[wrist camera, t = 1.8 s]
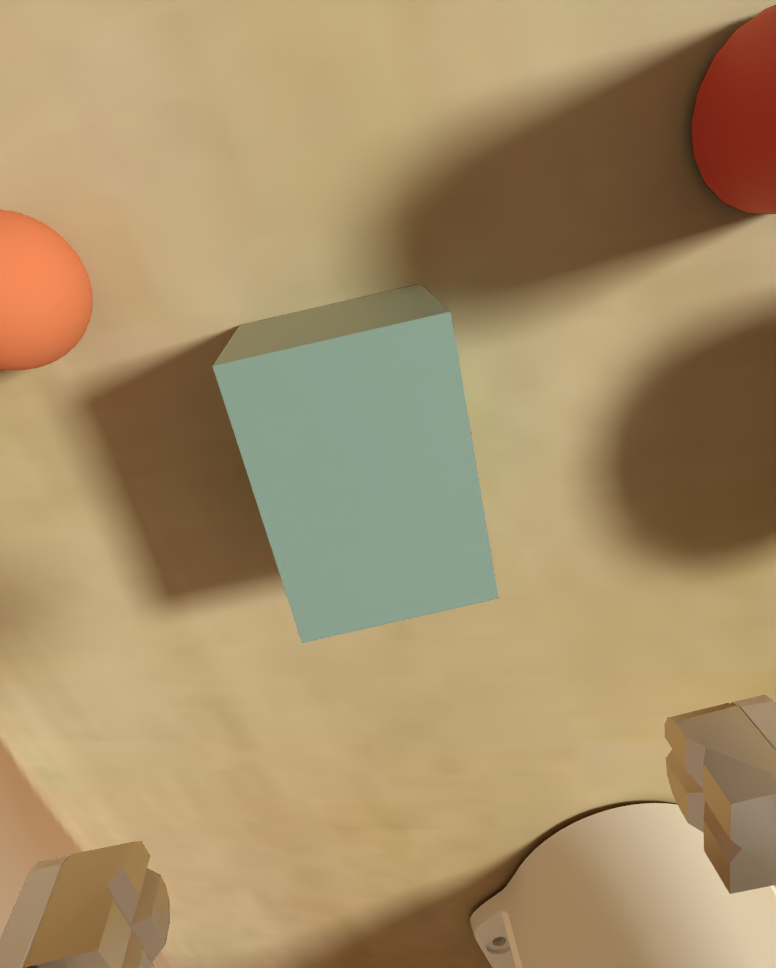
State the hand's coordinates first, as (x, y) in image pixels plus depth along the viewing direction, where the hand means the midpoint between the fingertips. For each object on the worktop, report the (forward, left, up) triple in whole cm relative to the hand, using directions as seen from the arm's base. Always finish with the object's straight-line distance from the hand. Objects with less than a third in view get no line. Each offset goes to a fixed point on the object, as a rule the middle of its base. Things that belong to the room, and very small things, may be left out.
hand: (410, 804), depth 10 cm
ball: (+8, +10, -16) cm, 20 cm away
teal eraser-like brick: (0, 0, -19) cm, 18 cm away
